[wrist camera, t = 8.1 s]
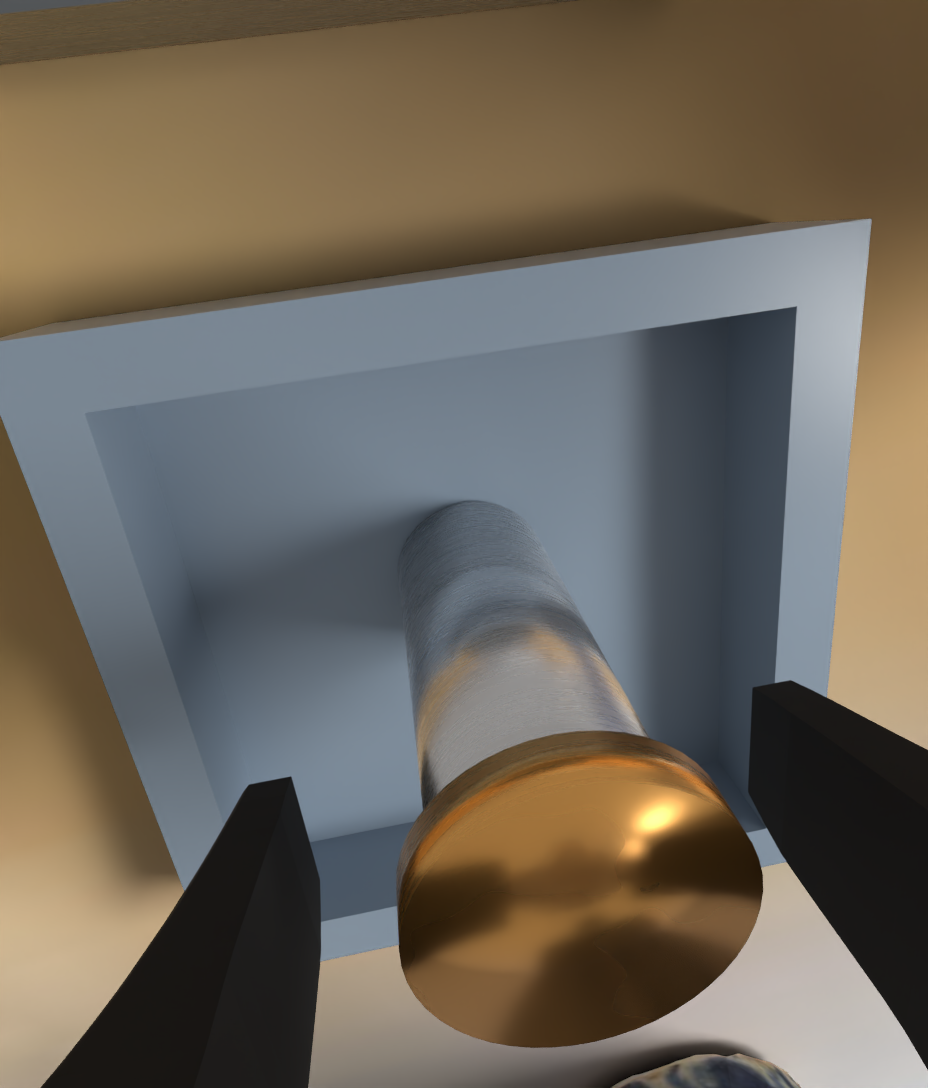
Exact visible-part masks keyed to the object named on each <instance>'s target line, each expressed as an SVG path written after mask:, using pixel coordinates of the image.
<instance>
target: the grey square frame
mask: <svg viewBox="0 0 928 1088" xmlns="http://www.w3.org/2000/svg"><path fill="white" fill-rule="evenodd" d="M567 1H576V0H0V65H2V64H11V63H20V62H29V61H38V60H47V59H56V58H65V57H74V56H83V55H92V54H101V53H110V52H119V51H128V50H137V49H146V48H155V47H164V46H173V45H182V44H191V43H200V42H209V41H217V40H226V39H235V38H244V37H253V36H262V35H271V34H280V33H289V32H298V31H307V30H316V29H325V28H334V27H343V26H352V25H361V24H370V23H379V22H388V21H397V20H406V19H415V18H424V17H433V16H442V15H450V14H459V13H468V12H477V11H486V10H495V9H504V8H513V7H522V6H531V5H540V4H549V3H558V2H567Z"/></svg>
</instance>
